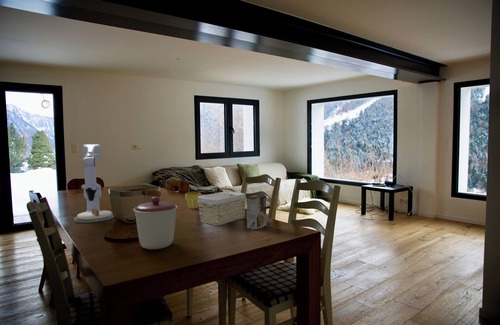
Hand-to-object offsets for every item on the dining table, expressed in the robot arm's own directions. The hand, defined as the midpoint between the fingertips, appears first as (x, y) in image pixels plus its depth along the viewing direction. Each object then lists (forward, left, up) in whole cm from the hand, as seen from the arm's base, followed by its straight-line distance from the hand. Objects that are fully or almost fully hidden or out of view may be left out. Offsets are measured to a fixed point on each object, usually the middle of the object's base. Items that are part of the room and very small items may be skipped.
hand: (91, 200), depth 193 cm
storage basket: (+47, +62, -11) cm, 79 cm away
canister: (+73, +18, -11) cm, 76 cm away
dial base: (+2, +1, -10) cm, 11 cm away
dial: (+2, +1, -9) cm, 9 cm away
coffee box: (+70, +70, -11) cm, 100 cm away
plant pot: (+4, +61, -11) cm, 62 cm away
